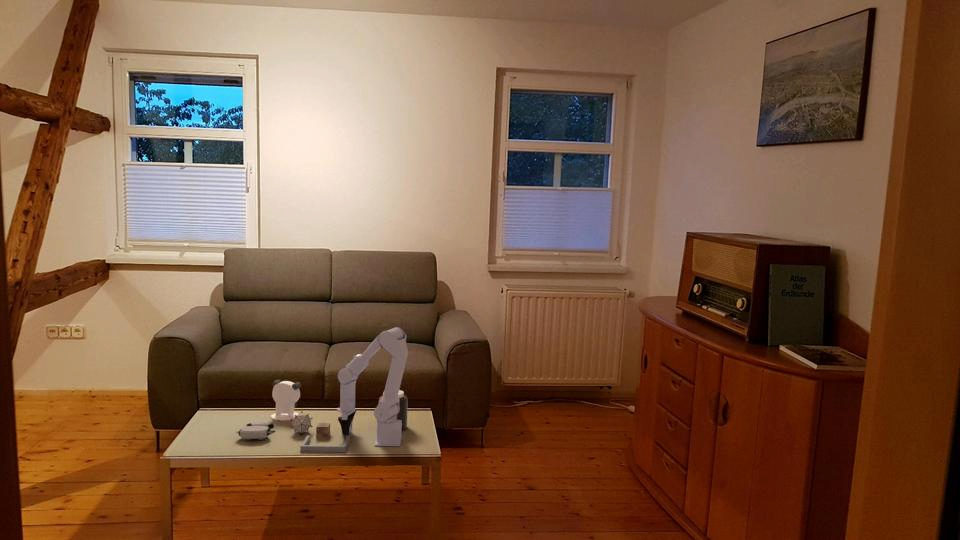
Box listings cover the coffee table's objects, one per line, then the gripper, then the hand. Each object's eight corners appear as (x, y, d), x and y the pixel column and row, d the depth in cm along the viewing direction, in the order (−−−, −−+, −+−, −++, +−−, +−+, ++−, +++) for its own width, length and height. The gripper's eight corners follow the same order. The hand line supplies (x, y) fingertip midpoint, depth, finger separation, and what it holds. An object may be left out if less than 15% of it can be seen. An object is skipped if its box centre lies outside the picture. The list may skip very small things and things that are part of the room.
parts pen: (349, 441, 233) (349, 435, 233) (344, 452, 222) (345, 446, 222) (307, 440, 232) (307, 435, 232) (300, 451, 221) (300, 446, 221)
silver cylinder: (352, 433, 241) (353, 418, 240) (351, 437, 237) (351, 422, 236) (342, 433, 240) (342, 418, 240) (340, 437, 237) (341, 422, 236)
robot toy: (245, 431, 241) (234, 442, 226) (246, 420, 241) (234, 430, 226) (277, 431, 243) (268, 442, 228) (277, 420, 243) (268, 430, 228)
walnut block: (330, 434, 239) (330, 423, 239) (327, 438, 235) (328, 427, 235) (318, 433, 239) (318, 422, 239) (316, 438, 235) (316, 426, 234)
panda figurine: (305, 413, 262) (306, 379, 260) (291, 422, 251) (291, 386, 250) (280, 410, 265) (281, 376, 263) (265, 418, 254) (265, 383, 252)
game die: (298, 443, 238) (284, 427, 233) (298, 429, 245) (284, 412, 240) (318, 433, 238) (304, 416, 233) (318, 418, 245) (305, 402, 240)
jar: (404, 433, 243) (405, 397, 241) (375, 432, 243) (376, 395, 241) (408, 423, 254) (409, 388, 253) (380, 422, 255) (381, 387, 253)
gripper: (340, 392, 244) (339, 425, 245) (333, 403, 230) (333, 438, 231) (358, 392, 245) (357, 425, 246) (352, 403, 230) (352, 438, 231)
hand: (347, 431), depth 238 cm, fingers open, 6 cm apart
